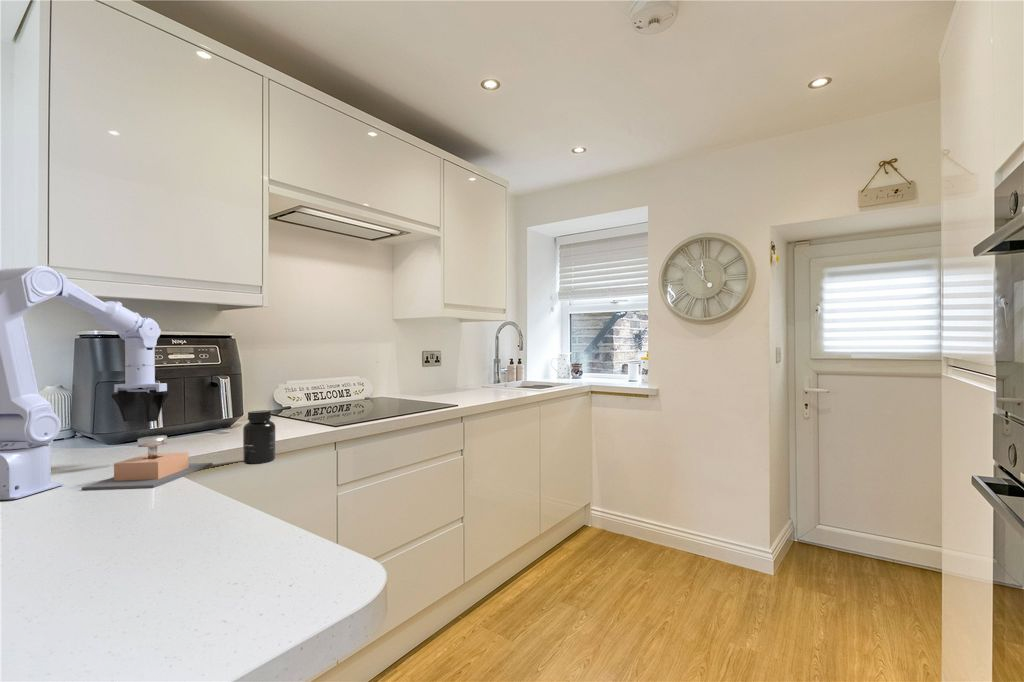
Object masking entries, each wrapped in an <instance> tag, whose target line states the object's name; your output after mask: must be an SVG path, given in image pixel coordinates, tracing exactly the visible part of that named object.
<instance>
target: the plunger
mask: <svg viewBox="0 0 1024 682" xmlns="http://www.w3.org/2000/svg"><path fill="white" fill-rule="evenodd" d="M166 444H168V436H167V435H163V434H162V435H152V436H151V435H150V436H143V437H139V438H137V447H138V448H147V454H148V459H156V458H158V457H157V453H158V446H162V445H163V446H164V445H166Z"/></svg>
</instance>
